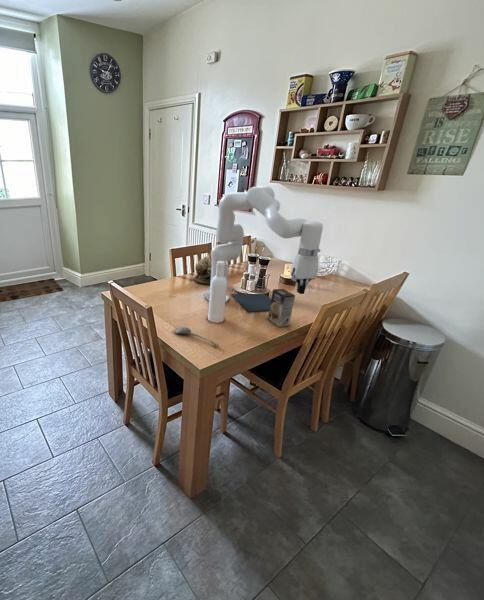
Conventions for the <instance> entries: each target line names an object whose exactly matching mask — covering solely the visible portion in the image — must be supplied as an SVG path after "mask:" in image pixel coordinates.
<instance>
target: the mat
mask: <svg viewBox="0 0 484 600" xmlns="http://www.w3.org/2000/svg"><path fill="white" fill-rule="evenodd" d="M248 293H249V292H244V293H232V294H230V296H231V297H232V298H233V299H234V300H235V301H236V302H237V303H238V304H240V306H241V307H243V309H245V310H246V312H247V313H256V312H259V313H260V312H269V311H270V305H271V299H272V298H270V297H269V296H268V295H266V294H265V293H264V294H248Z"/></svg>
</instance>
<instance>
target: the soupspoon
mask: <svg viewBox="0 0 484 600" xmlns="http://www.w3.org/2000/svg"><path fill="white" fill-rule="evenodd" d="M174 333H175V334H186V335H187V334H188V335H192V336H196V337H198V338H201V339H202V340H205V341H208V342H209V343H210V344H212V345H213V346H214V347H217V346H218V345H219V344H218V343H216V342H214V341H213V340H210V339H208V338H206V337H205V336H204V337H203V336H201V335H198V334H196V333H193V332H192V330H191V328H189V327H185V326H183V327H179V328H177V329H175V331H174Z"/></svg>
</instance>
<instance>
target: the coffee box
mask: <svg viewBox="0 0 484 600" xmlns="http://www.w3.org/2000/svg"><path fill="white" fill-rule="evenodd" d="M295 298H296V294H294V293H292V292H291V291H288V290H286V289H285V288H275V289H272V294H271V298H270V299H271V305H270V311H268V317H267V319H268V320H269V321H270V322H271V323H273V324H274V325H276V327H286V326H290V323H291V318H292V312H293V308H294V304H295V303H294V302H295Z"/></svg>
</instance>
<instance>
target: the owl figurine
mask: <svg viewBox="0 0 484 600" xmlns="http://www.w3.org/2000/svg"><path fill="white" fill-rule="evenodd" d="M211 268H212V261H211V260H210V258H209V257H208V256H207V255H206V256H204V257H203V258H200V259H199V260H198V261H197V263H196V264H195V268H194V269H195V273H196V274H197V275H195V276H194V277H193V281H194V282H195V283H198V284H200V285H204V286H210V282H211Z"/></svg>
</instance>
